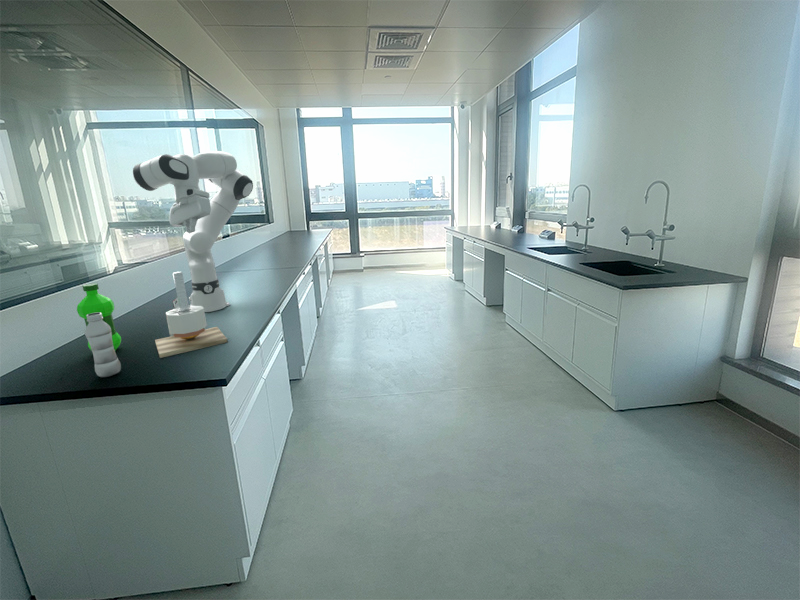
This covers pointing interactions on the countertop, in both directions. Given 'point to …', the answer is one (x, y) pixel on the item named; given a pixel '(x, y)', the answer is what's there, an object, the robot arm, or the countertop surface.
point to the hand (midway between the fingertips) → (190, 232)
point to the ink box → (175, 305)
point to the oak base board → (189, 342)
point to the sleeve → (186, 320)
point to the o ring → (190, 333)
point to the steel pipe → (182, 297)
